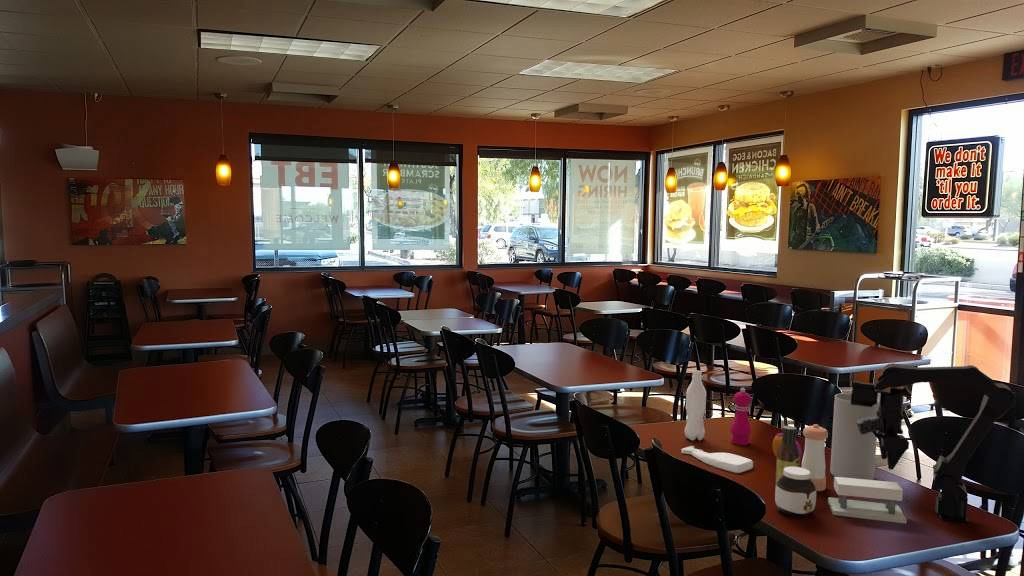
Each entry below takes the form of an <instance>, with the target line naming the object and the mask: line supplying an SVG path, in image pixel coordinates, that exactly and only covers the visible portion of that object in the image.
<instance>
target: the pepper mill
mask: <svg viewBox="0 0 1024 576" xmlns="http://www.w3.org/2000/svg"><path fill="white" fill-rule="evenodd" d="M739 390H740V391H738V392H736V393H735V394H734V396H733V402H734V403H735V404H734V409H735V415H734V419H733V421H732V423H731V425H730V431H729V432H730V433H731V435H732V436H731V443H733V444H734V443H735V445H738V444H739V446H747V444H748V445H749V444H750V443H751V442H750V440H751V439H750V435H752V426H751V424H750V420H749V415H748V414H749V413H748V412H749V411H750V405H751V402H752V397H751V395H750V394H749V393H748V392H747V391H746V388H745V387H741V388H740V389H739Z"/></svg>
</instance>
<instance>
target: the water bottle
mask: <svg viewBox="0 0 1024 576" xmlns="http://www.w3.org/2000/svg"><path fill="white" fill-rule="evenodd" d="M691 378H692V379H691V382H690V384H689V385H688V387H687V389H686V392H685V393H686V394H685V395H686V397H685V410H686V417H687V418H686V425H685V427H684V436H685V438H686V439H689V440H690V441H695V440H696V439H697V441H702V440H703V438H704V437H705V434H706V433H705V432H706V430H705V427H704V426H705V425H704V415H705V413H706V410H707V408H706V404H707V390H706V388H705V386H704V384H703V381H702V378H703V377H702V370H697V369H695V370H693V371H692V376H691Z"/></svg>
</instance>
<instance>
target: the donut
mask: <svg viewBox="0 0 1024 576" xmlns="http://www.w3.org/2000/svg"><path fill="white" fill-rule="evenodd" d="M781 443H782V432H781V433H780V432H778V433H776V434H775V436H774V437H773V441H772V451H773V453H774V456H775V457H776V458H777V450H778V448H779V446H780V445H781ZM796 445H797V448H798V451H799V454H800V460H801V458H802V447H801V445H800V444H799V441H798V440H796Z"/></svg>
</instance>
